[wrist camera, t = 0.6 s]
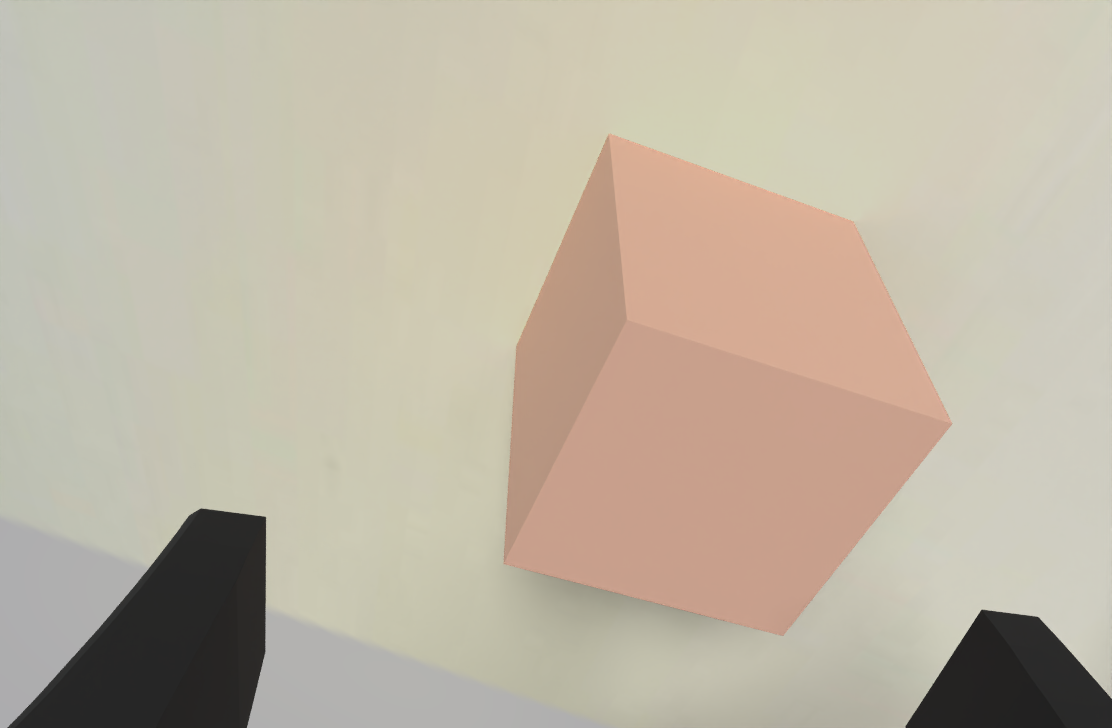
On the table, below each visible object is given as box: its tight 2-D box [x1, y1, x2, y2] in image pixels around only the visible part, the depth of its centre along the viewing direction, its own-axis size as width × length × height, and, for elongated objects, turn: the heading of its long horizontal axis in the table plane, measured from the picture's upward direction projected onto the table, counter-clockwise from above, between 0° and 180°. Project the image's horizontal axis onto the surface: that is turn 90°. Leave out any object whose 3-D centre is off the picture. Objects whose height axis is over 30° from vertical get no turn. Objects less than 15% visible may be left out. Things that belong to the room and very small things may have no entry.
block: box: [504, 134, 952, 636], centre depth 17 cm, size 5×5×6 cm
